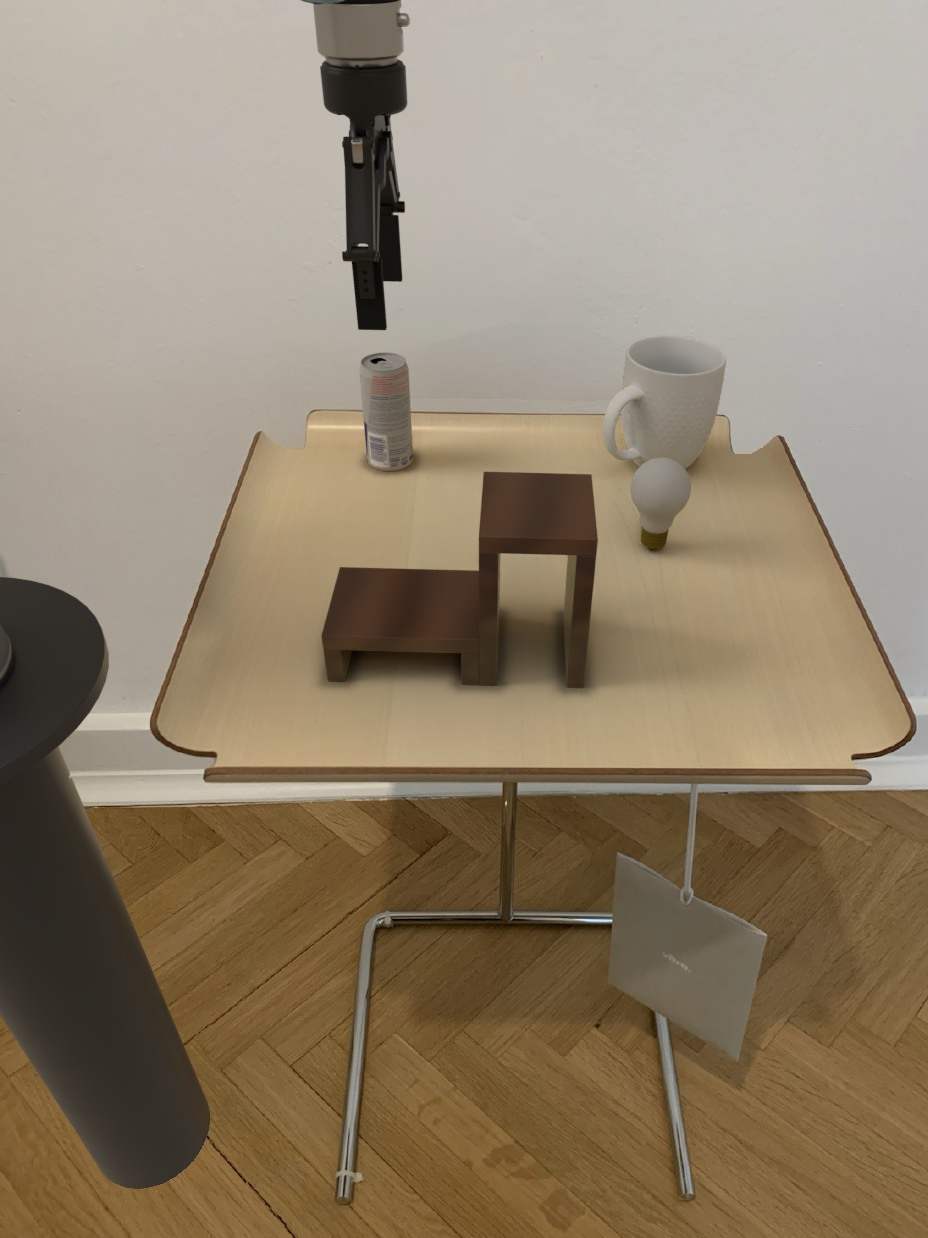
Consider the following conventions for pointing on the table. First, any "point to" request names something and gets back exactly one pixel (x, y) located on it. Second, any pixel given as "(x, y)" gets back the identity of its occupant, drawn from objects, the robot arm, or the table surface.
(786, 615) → the table surface
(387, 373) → the energy drink
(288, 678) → the table surface
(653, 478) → the light bulb
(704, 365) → the mug
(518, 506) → the shelf
